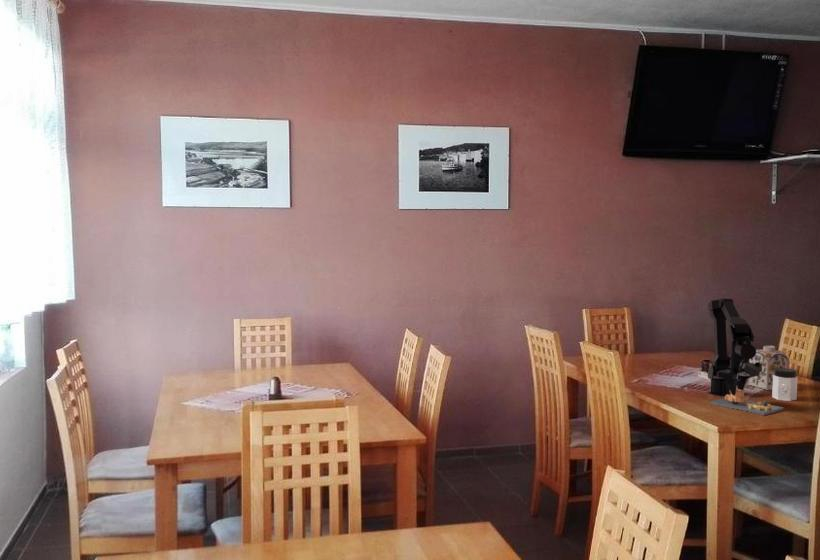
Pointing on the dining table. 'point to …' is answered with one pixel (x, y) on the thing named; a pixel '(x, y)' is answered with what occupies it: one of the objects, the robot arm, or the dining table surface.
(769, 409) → the gear board
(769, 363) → the decorative jar
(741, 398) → the loose gear
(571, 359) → the dining table surface
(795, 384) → the jar
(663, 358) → the dining table surface
